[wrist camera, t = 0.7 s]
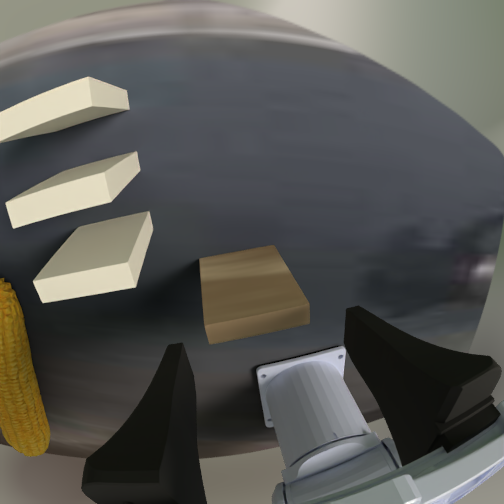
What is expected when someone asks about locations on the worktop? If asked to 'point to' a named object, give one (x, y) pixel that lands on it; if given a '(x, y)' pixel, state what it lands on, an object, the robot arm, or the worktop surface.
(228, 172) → the worktop surface
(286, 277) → the domino
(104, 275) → the domino
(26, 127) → the domino
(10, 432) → the food
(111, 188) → the domino
